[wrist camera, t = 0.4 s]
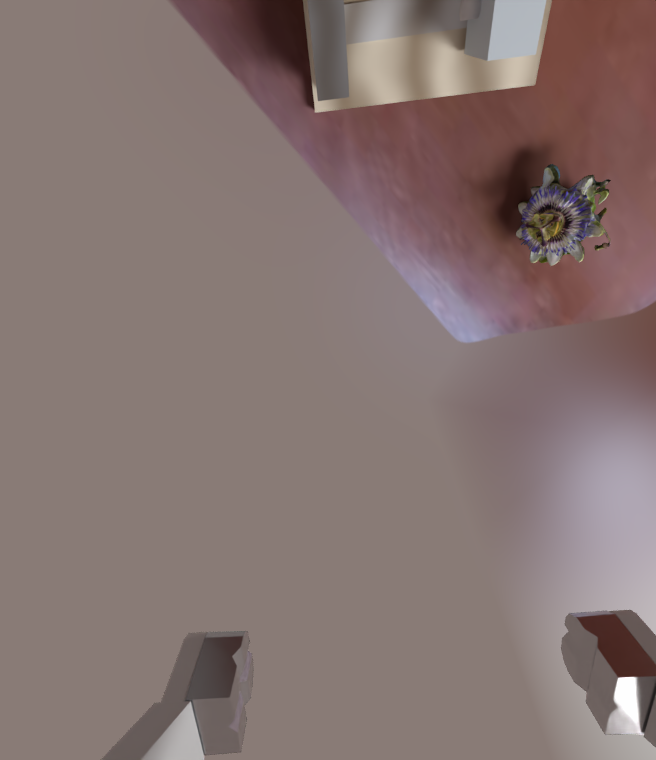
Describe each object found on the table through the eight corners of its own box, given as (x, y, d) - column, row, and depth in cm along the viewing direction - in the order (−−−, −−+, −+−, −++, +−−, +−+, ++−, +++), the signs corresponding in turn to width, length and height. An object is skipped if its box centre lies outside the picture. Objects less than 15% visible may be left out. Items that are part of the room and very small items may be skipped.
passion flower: (512, 192, 56) (526, 162, 45) (600, 179, 53) (639, 142, 41) (511, 273, 58) (525, 263, 47) (597, 265, 54) (634, 252, 43)
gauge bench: (568, -118, 34) (626, -153, 27) (530, 83, 43) (565, 95, 36) (296, -71, 36) (284, -91, 29) (315, 110, 46) (310, 126, 39)
